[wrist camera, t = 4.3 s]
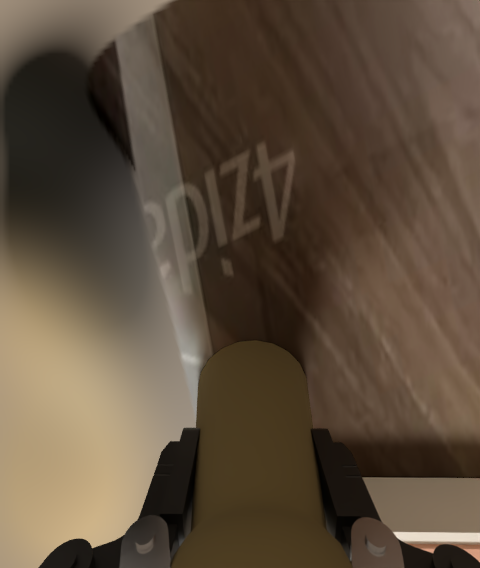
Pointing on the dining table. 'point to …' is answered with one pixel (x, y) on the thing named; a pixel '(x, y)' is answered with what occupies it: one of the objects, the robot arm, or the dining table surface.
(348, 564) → the cork
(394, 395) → the dining table surface
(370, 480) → the hole board
